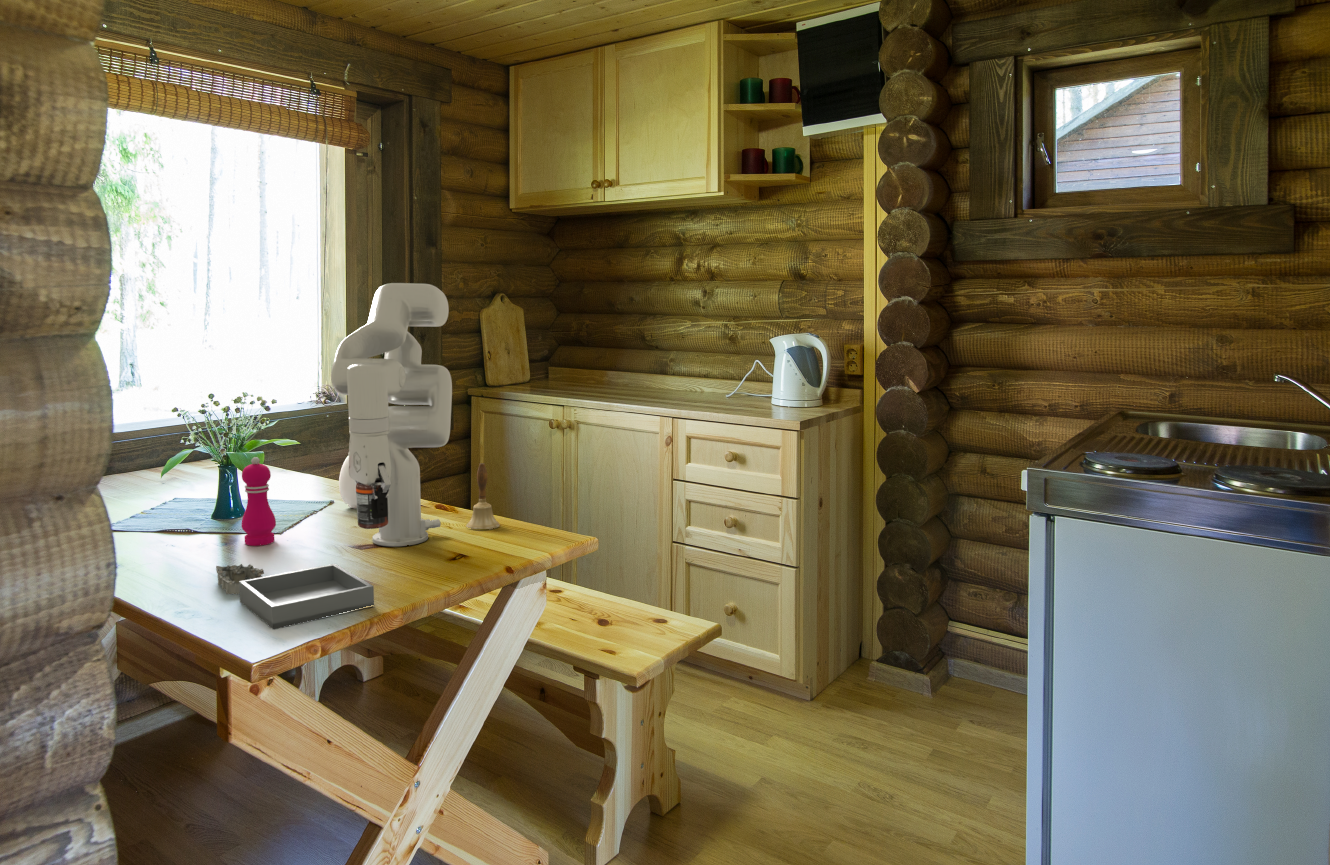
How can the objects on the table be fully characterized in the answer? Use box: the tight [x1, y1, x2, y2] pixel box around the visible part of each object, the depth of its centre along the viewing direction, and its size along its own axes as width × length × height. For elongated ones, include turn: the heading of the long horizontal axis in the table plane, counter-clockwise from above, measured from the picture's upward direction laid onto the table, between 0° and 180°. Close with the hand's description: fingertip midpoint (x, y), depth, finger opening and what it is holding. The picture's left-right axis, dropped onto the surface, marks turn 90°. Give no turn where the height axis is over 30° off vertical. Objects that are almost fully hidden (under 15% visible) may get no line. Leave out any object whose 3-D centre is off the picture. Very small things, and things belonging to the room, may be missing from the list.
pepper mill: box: [241, 456, 277, 547], centre depth 205 cm, size 7×7×20 cm
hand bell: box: [465, 462, 501, 530], centre depth 223 cm, size 8×8×16 cm
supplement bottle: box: [356, 480, 388, 530], centre depth 179 cm, size 6×6×11 cm
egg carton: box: [215, 563, 265, 596], centre depth 175 cm, size 11×8×4 cm
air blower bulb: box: [338, 452, 357, 509], centre depth 240 cm, size 8×8×18 cm
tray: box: [239, 563, 375, 630], centre depth 165 cm, size 18×18×4 cm
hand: (372, 513), depth 180 cm, fingers closed on supplement bottle, 6 cm apart
